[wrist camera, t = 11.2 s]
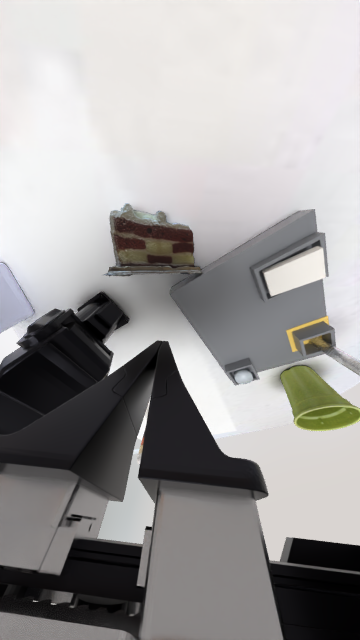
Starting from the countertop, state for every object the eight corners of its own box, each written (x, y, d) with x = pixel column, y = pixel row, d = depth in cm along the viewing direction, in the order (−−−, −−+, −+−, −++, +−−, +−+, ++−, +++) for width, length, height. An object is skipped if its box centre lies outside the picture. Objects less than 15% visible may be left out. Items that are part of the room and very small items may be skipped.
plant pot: (312, 385, 32) (347, 431, 25) (268, 387, 34) (289, 431, 27) (328, 358, 27) (377, 405, 20) (275, 361, 29) (303, 406, 22)
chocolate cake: (211, 211, 17) (97, 159, 9) (209, 274, 19) (114, 275, 11) (164, 231, 24) (76, 211, 16) (166, 275, 26) (89, 277, 18)
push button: (237, 379, 27) (238, 385, 26) (231, 370, 26) (232, 376, 25) (252, 375, 26) (255, 381, 25) (247, 366, 25) (249, 371, 24)
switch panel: (227, 369, 31) (232, 389, 27) (171, 287, 22) (167, 300, 18) (319, 341, 25) (341, 361, 22) (299, 210, 16) (333, 206, 12)
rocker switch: (268, 292, 18) (271, 296, 17) (261, 270, 16) (263, 273, 16) (320, 273, 15) (325, 277, 15) (317, 245, 14) (323, 248, 13)
